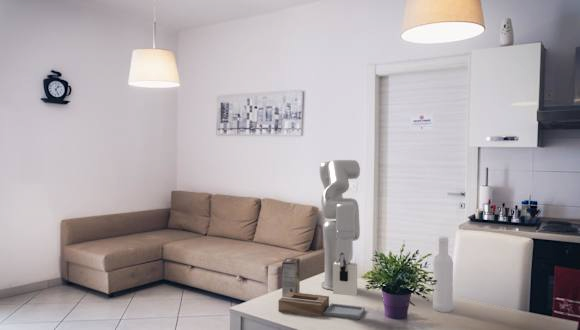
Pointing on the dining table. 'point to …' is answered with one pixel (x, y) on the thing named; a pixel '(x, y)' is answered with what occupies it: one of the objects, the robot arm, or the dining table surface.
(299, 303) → the brown wooden flat box
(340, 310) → the grey tray
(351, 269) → the white block
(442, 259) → the bottle
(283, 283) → the tall grey box
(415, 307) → the dining table surface
